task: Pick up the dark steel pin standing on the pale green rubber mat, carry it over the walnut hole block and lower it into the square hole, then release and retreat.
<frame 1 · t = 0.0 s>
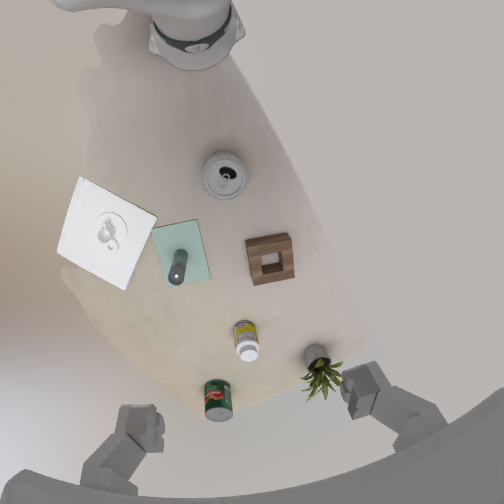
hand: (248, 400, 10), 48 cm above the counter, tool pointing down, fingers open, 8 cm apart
can: (223, 169, 53), on the counter
house plant: (309, 348, 76), on the counter
pin: (181, 255, 58), resting on mat
hole block: (268, 255, 61), on the counter
teacup and saucer: (101, 235, 55), on the counter, touching mat
mat: (181, 254, 59), on the counter
canned tomato: (217, 386, 78), on the counter
supplement bottle: (244, 327, 69), on the counter
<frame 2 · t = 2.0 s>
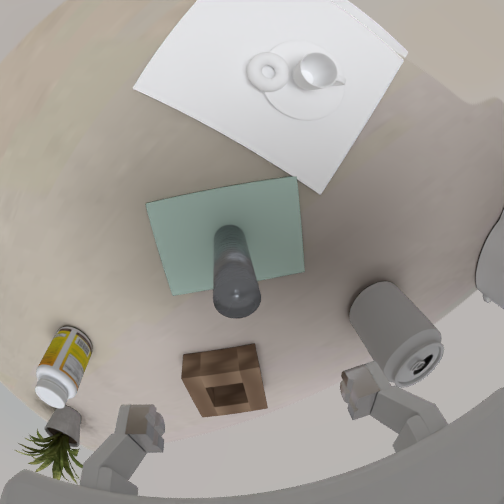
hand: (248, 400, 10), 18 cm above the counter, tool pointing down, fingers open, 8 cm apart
can: (372, 302, 33), on the counter
house plant: (70, 409, 37), on the counter
pin: (229, 239, 26), resting on mat
hole block: (226, 372, 34), on the counter
teacup and saucer: (288, 51, 20), on the counter, touching mat
mat: (229, 238, 27), on the counter
supplement bottle: (76, 339, 30), on the counter
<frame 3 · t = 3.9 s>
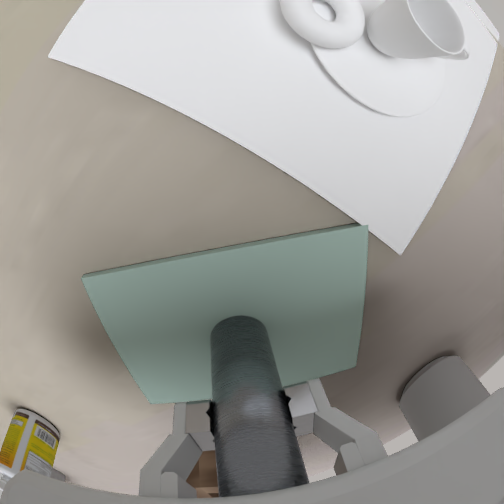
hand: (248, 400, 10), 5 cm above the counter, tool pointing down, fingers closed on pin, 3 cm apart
can: (426, 377, 21), on the counter
pin: (239, 338, 14), resting on mat, touching gripper
hole block: (232, 464, 22), on the counter
mat: (238, 333, 14), on the counter
supplement bottle: (39, 421, 18), on the counter
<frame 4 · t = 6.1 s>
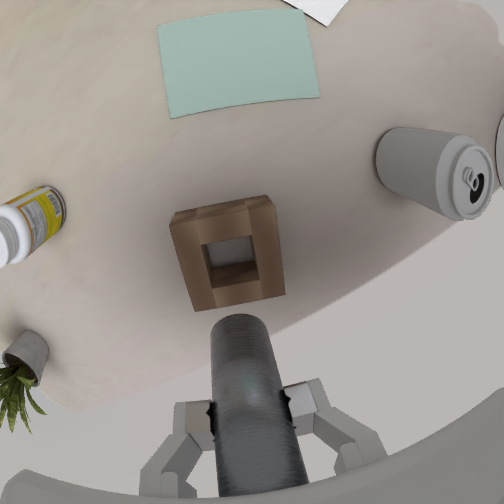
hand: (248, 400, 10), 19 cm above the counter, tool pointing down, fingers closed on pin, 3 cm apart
can: (397, 159, 27), on the counter
house plant: (37, 337, 31), on the counter
pin: (239, 336, 14), point 15 cm above the counter, touching gripper
hole block: (229, 245, 28), on the counter
mat: (238, 56, 21), on the counter
supplement bottle: (49, 208, 24), on the counter
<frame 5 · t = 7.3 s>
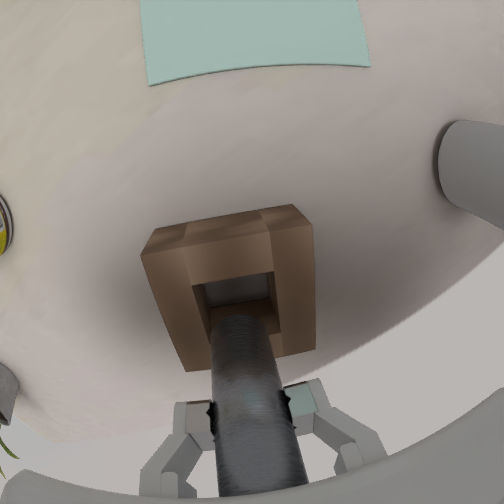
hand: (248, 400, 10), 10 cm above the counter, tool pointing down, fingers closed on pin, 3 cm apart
can: (457, 161, 18), on the counter
house plant: (5, 368, 22), on the counter
pin: (239, 337, 14), point 6 cm above the counter, touching gripper
hole block: (234, 277, 19), on the counter
mat: (254, 1, 12), on the counter
when the fingers open (5 cm above the counter, at t = 8.5 s): pin drops 1 cm, resting in hole block.
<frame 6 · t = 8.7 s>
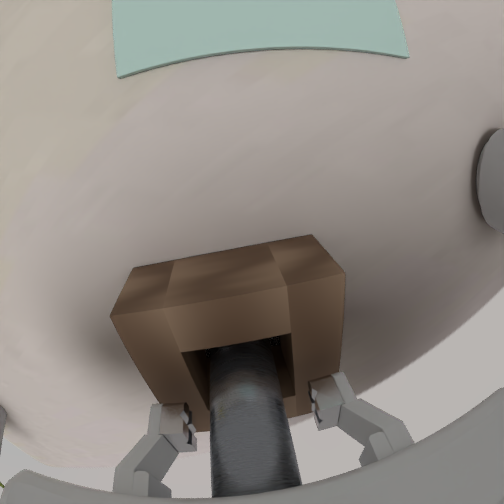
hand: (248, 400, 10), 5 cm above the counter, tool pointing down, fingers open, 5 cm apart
can: (494, 175, 14), on the counter
pin: (238, 324, 15), resting in hole block
hole block: (236, 324, 15), on the counter
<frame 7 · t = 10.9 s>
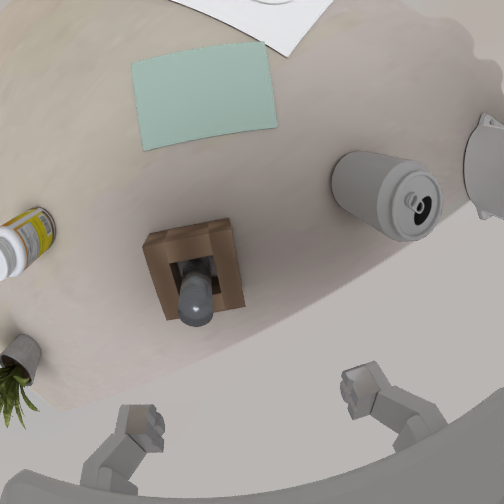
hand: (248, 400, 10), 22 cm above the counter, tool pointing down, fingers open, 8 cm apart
can: (355, 180, 31), on the counter
house plant: (30, 341, 33), on the counter
pin: (197, 262, 32), resting in hole block
hole block: (196, 262, 32), on the counter
mat: (203, 91, 25), on the counter
supplement bottle: (41, 227, 27), on the counter
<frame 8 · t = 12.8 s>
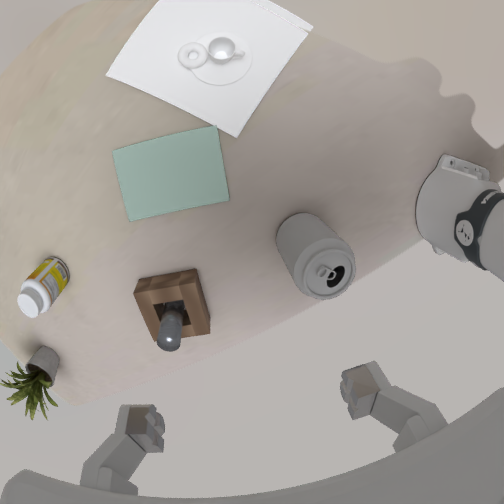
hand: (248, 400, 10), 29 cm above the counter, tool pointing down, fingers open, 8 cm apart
can: (299, 235, 40), on the counter
house plant: (50, 351, 44), on the counter
pin: (175, 299, 41), resting in hole block
hole block: (175, 299, 41), on the counter
teacup and saucer: (210, 40, 27), on the counter, touching mat
mat: (169, 173, 34), on the counter
supplement bottle: (57, 270, 37), on the counter
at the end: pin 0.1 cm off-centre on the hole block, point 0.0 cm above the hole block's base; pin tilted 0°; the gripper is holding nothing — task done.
